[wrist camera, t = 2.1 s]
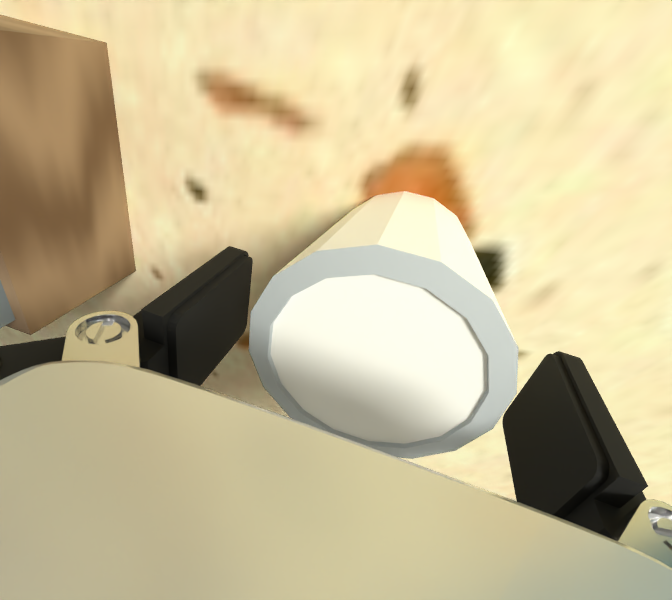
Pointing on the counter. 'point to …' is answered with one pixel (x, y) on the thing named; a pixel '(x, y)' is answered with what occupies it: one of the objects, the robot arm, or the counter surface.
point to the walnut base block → (58, 174)
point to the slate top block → (5, 309)
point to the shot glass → (387, 332)
